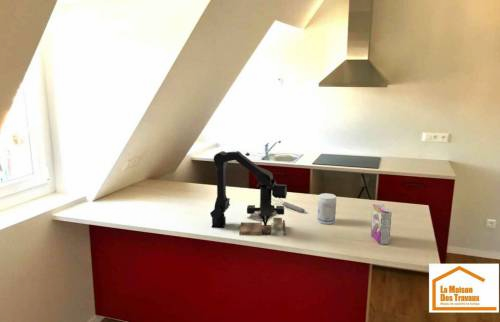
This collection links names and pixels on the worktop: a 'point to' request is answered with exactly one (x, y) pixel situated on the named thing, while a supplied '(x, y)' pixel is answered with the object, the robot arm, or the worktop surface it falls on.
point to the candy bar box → (381, 224)
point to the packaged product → (258, 216)
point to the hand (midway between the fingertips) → (265, 225)
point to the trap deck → (261, 229)
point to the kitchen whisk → (291, 206)
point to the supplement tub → (326, 208)
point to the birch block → (277, 223)
